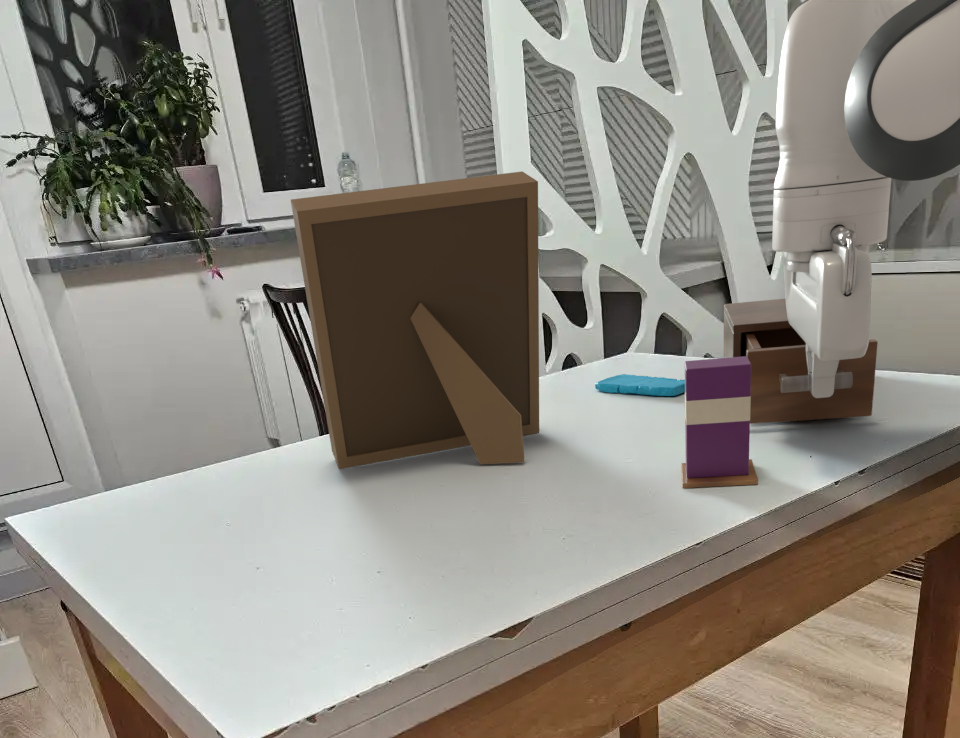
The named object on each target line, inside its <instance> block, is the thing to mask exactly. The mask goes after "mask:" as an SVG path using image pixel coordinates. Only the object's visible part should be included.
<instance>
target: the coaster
mask: <svg viewBox="0 0 960 738" xmlns="http://www.w3.org/2000/svg"><path fill="white" fill-rule="evenodd" d="M680 465H681V466H680V467H681V483H682V484H681V485H682V489H693V488H712V487H731V486H732V487H733V486H752V485H758V484H759V479H758V476H757V472H756V469H755V466H754V462H753V459H751V458H749V474H748V475H738V476H720V477H702V478H687V473H686V462H682V463H681V464H680Z"/></svg>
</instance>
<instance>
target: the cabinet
mask: <svg viewBox="0 0 960 738" xmlns="http://www.w3.org/2000/svg"><path fill="white" fill-rule="evenodd" d="M788 328H793V327H792V326H791V325H790V324H789V321H788V317H787V310H786V300H785V298H776V299H767V300H754V301H753V300H752V301H745V302H744V301H743V302H742V301H741V302H733V303H731V302H730V303H724V304H723V358H731V357H742V334H743V332H753V331H765V330H777V329H788Z"/></svg>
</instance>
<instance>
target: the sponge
mask: <svg viewBox="0 0 960 738" xmlns="http://www.w3.org/2000/svg"><path fill="white" fill-rule="evenodd" d="M594 387H595V388H594V389H596V390H598V391H599V392H604V393H609V394H618V393H619V394H624V395H628V394H634V395H642V396H655V397H656V396H658V397H675V396H677V395H680V394H683V393H685V379H677V378H670V377H661V376H659V377H658V376H648V375H635V374H625V373H622V374H617V375H614V376H610V377H606V378H604V379H602V380H599V381H596V382H595V384H594Z"/></svg>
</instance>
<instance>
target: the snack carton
mask: <svg viewBox="0 0 960 738" xmlns="http://www.w3.org/2000/svg"><path fill="white" fill-rule="evenodd" d="M684 380H685V392H684V421H685V422H684V424H685V425H684V430H685V434H684V435H685V436H684V437H685V443H684V444H685V463H686V473H687V478H702V477H720V476H738V475H748V474H749V459H750V437H751V436H750V433H751V432H750V430H751V424H750V406H751V397H750V392H751V364H750V362H749V360H748V358H747V356H743V357H731V358H724V357H720V358H707V359H695V360H685V361H684Z"/></svg>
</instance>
